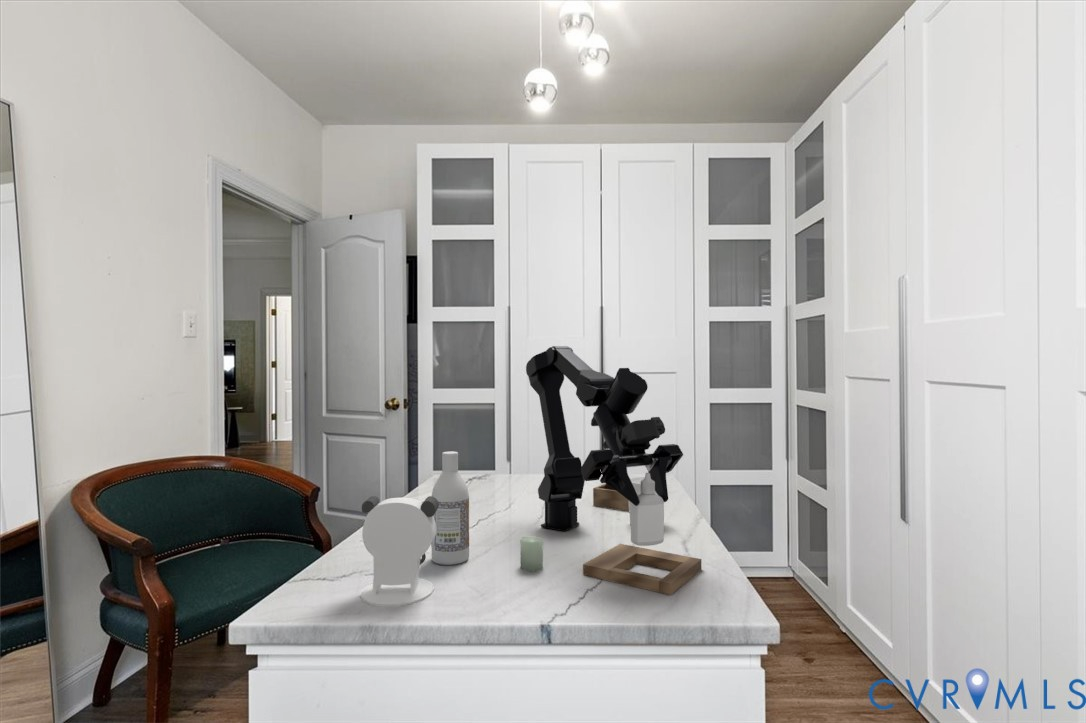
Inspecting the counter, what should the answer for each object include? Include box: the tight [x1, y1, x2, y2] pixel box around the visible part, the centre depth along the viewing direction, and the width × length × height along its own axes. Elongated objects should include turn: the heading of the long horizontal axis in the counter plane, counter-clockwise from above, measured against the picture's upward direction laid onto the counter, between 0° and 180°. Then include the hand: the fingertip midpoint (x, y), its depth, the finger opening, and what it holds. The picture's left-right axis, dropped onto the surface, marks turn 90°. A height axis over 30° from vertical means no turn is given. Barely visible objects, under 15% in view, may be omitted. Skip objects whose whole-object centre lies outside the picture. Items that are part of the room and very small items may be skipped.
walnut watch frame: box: [592, 483, 629, 512], centre depth 153 cm, size 11×11×4 cm
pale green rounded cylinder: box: [519, 536, 544, 573], centre depth 107 cm, size 4×4×5 cm
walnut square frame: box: [582, 543, 702, 596], centre depth 104 cm, size 16×14×2 cm
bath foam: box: [430, 450, 470, 566], centre depth 111 cm, size 7×7×20 cm
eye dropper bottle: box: [630, 472, 665, 547], centre depth 103 cm, size 4×6×12 cm
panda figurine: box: [360, 495, 439, 608], centre depth 95 cm, size 12×11×15 cm
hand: (652, 502), depth 101 cm, fingers closed on eye dropper bottle, 5 cm apart
